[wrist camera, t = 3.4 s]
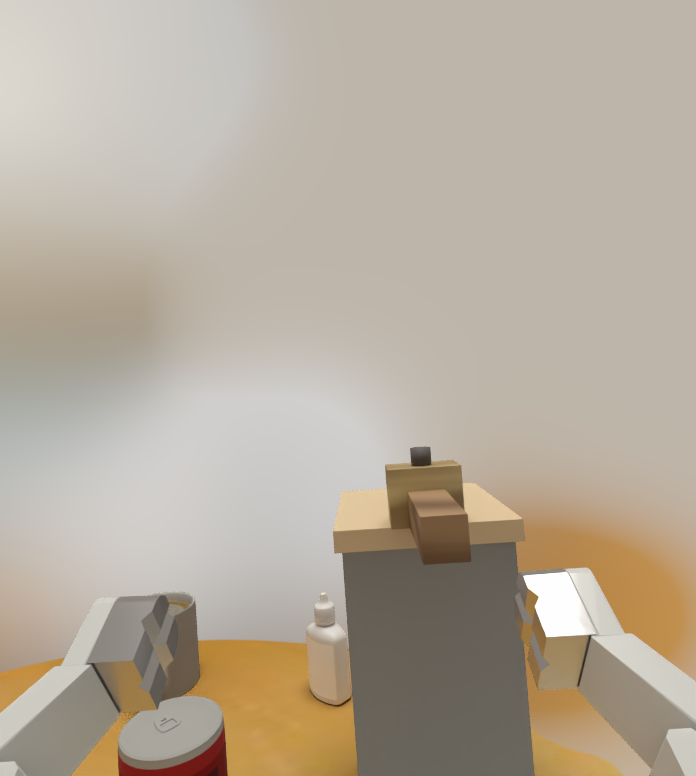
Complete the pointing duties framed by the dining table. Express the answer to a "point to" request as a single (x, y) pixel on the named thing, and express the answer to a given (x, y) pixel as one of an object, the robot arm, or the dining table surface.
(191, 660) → the coffee mug
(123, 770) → the canned food
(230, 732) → the dining table surface
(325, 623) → the eye dropper bottle
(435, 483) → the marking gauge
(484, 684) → the stand
